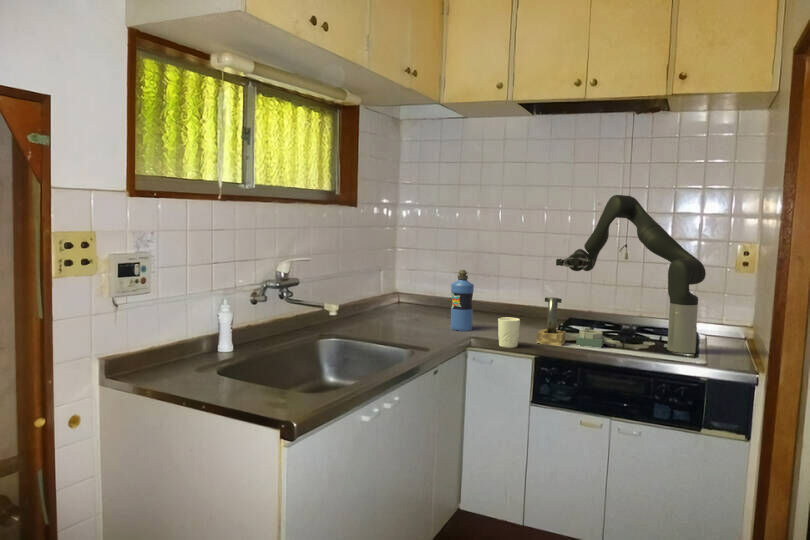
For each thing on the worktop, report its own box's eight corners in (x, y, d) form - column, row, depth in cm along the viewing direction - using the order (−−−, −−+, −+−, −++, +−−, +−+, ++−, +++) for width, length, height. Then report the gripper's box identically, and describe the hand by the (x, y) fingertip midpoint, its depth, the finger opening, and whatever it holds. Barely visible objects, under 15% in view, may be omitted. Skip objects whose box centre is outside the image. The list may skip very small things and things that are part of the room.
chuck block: (620, 345, 227) (621, 332, 227) (618, 349, 219) (619, 336, 219) (579, 341, 233) (580, 328, 233) (576, 345, 225) (576, 332, 225)
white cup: (514, 343, 228) (515, 317, 227) (522, 347, 220) (523, 320, 219) (494, 343, 226) (495, 317, 225) (501, 348, 218) (502, 321, 218)
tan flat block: (565, 341, 233) (565, 331, 232) (561, 345, 225) (561, 335, 224) (541, 339, 236) (542, 329, 236) (536, 343, 228) (537, 332, 228)
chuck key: (560, 339, 231) (562, 298, 229) (558, 341, 228) (560, 299, 226) (544, 338, 233) (546, 296, 232) (542, 339, 230) (544, 298, 228)
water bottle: (463, 326, 261) (464, 268, 259) (477, 330, 253) (478, 270, 251) (445, 328, 256) (447, 269, 254) (459, 332, 248) (461, 271, 246)
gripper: (561, 252, 256) (554, 253, 241) (596, 253, 250) (591, 254, 235) (560, 270, 256) (553, 272, 242) (595, 271, 251) (590, 273, 236)
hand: (572, 263), depth 238 cm, fingers open, 8 cm apart
